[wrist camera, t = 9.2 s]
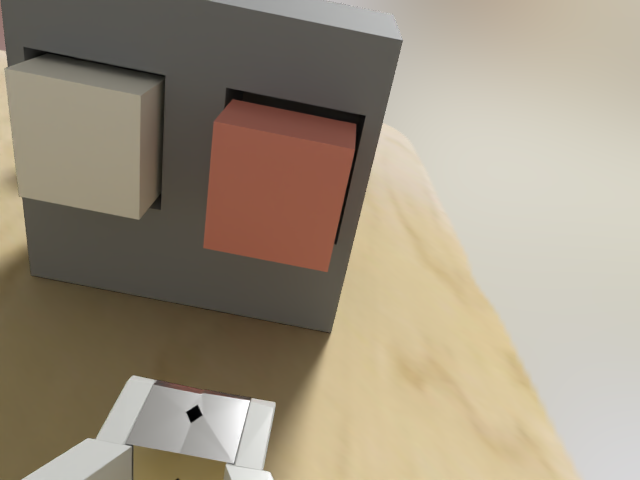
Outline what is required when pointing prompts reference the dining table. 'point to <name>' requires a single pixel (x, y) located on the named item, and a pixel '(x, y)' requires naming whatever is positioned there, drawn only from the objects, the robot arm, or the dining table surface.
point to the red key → (277, 184)
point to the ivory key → (87, 134)
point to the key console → (210, 138)
